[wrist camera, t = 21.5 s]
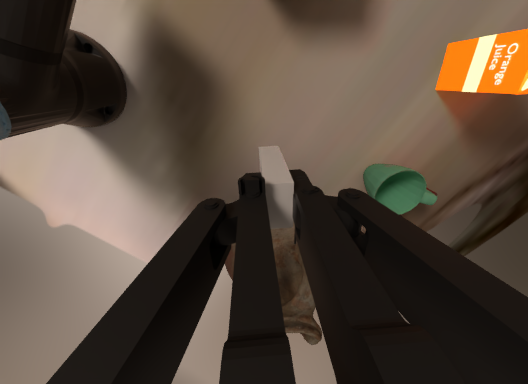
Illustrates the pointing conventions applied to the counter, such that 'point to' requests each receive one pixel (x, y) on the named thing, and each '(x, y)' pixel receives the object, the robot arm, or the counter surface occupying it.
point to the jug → (290, 285)
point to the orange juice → (487, 64)
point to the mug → (397, 187)
